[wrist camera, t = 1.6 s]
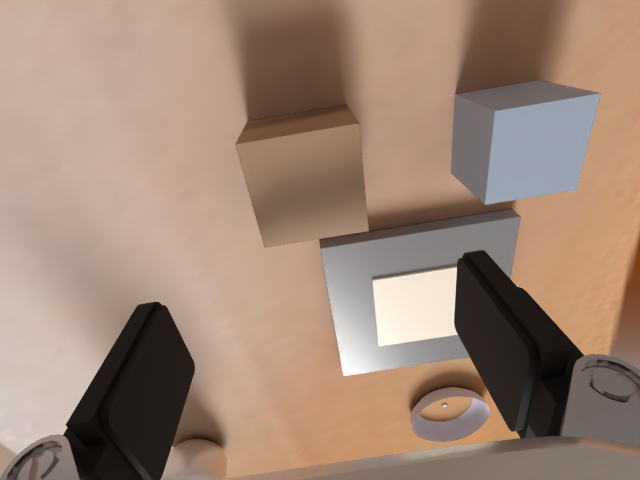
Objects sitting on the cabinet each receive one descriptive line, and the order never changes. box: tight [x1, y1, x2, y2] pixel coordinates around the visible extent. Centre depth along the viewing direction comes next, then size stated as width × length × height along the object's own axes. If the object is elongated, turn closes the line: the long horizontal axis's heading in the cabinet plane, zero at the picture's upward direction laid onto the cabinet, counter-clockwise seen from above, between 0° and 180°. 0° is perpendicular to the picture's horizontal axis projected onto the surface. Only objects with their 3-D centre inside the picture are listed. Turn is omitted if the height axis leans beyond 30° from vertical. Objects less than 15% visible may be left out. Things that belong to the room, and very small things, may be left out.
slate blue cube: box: [451, 80, 601, 205], centre depth 20 cm, size 5×5×5 cm
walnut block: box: [235, 104, 369, 248], centre depth 20 cm, size 6×6×5 cm
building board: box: [320, 209, 521, 376], centre depth 28 cm, size 14×14×1 cm
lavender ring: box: [411, 387, 490, 442], centre depth 37 cm, size 8×8×2 cm
